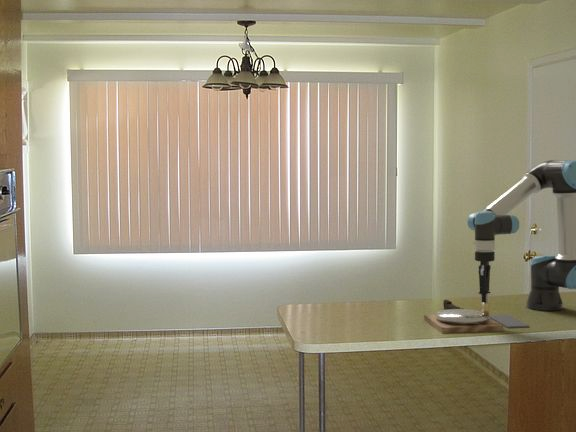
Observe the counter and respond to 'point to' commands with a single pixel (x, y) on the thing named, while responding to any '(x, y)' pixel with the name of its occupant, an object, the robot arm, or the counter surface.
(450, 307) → the hand tool
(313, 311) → the counter surface
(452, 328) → the board
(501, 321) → the mat
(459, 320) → the dial
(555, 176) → the robot arm
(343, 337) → the counter surface
